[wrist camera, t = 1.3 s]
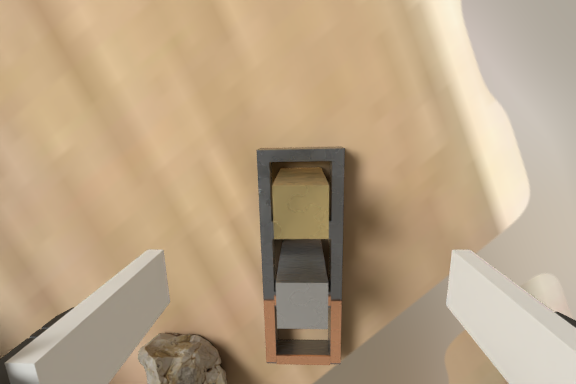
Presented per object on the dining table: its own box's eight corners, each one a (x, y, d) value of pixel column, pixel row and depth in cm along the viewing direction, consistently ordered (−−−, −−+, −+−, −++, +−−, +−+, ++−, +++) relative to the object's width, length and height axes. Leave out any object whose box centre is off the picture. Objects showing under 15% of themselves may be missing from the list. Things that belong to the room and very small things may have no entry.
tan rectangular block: (281, 206, 34) (273, 239, 24) (280, 168, 33) (271, 185, 23) (320, 205, 33) (328, 238, 24) (320, 167, 32) (329, 184, 23)
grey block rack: (268, 347, 38) (266, 364, 35) (260, 148, 32) (256, 150, 29) (337, 348, 37) (340, 365, 35) (341, 146, 32) (344, 148, 29)
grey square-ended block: (283, 272, 35) (277, 328, 26) (282, 238, 34) (275, 282, 25) (320, 273, 35) (327, 329, 25) (320, 238, 34) (328, 282, 24)
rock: (251, 389, 38) (206, 456, 28) (214, 403, 40) (160, 470, 30) (212, 303, 40) (157, 340, 30) (178, 320, 42) (117, 359, 32)
